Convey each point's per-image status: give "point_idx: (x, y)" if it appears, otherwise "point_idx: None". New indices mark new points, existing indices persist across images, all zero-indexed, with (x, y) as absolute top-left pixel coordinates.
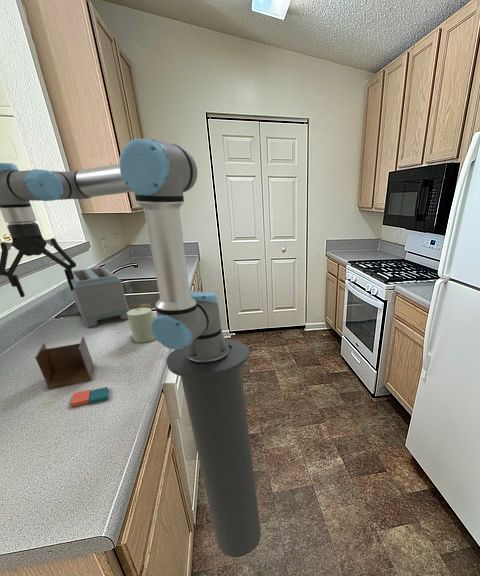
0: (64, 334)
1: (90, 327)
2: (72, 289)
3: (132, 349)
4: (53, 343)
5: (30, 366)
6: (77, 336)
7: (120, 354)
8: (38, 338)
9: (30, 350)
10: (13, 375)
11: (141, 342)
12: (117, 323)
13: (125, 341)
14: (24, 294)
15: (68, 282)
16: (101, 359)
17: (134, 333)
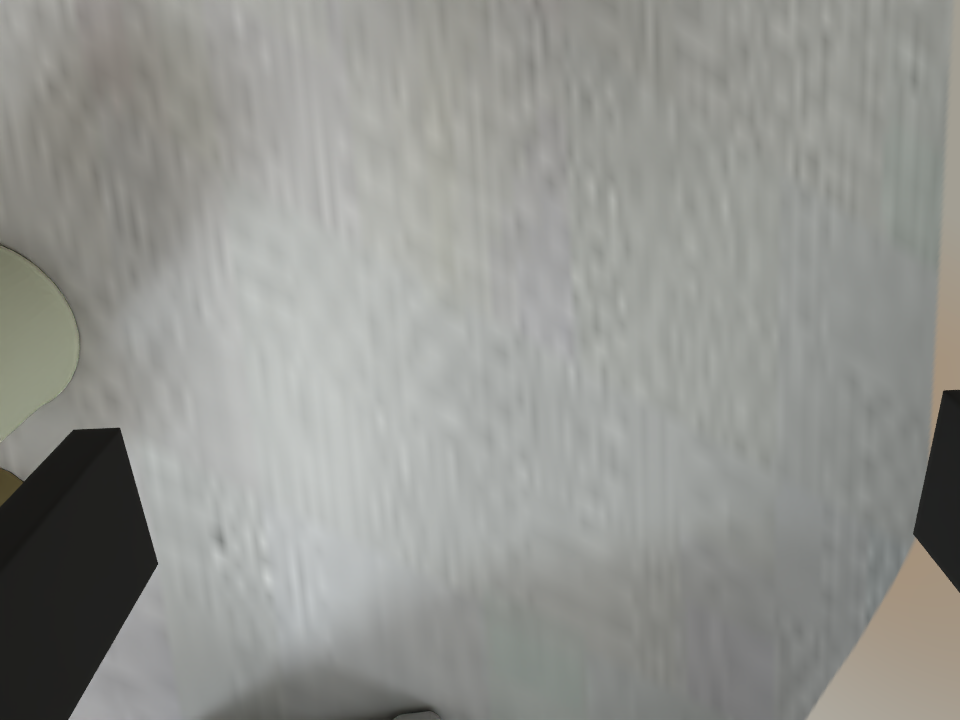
0: (585, 674)
1: (426, 712)
2: (84, 437)
3: (60, 135)
4: (649, 556)
5: (792, 208)
6: (501, 602)
7: (146, 75)
8: (739, 682)
9: (787, 507)
10: (904, 94)
11: (6, 249)
12: (251, 705)
13: (145, 340)
14: (923, 526)
15: (30, 531)
16: (290, 49)
17: (6, 309)
